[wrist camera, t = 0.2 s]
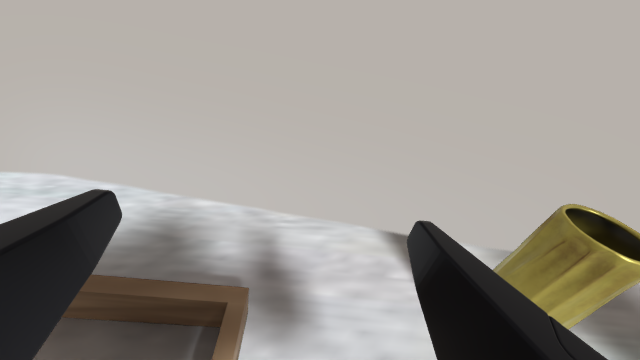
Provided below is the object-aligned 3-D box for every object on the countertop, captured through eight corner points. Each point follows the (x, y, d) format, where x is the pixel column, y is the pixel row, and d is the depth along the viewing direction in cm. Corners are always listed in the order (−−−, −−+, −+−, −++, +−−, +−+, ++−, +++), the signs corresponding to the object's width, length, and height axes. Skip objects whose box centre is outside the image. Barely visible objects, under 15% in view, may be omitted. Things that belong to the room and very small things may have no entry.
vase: (437, 324, 23) (545, 217, 15) (462, 290, 27) (561, 189, 19) (504, 390, 20) (690, 299, 12) (523, 340, 24) (674, 244, 15)
